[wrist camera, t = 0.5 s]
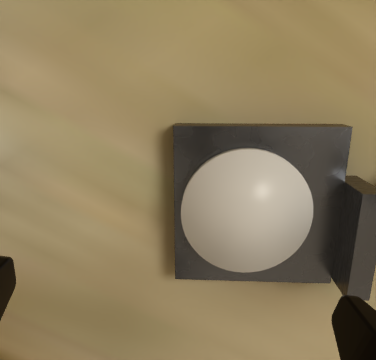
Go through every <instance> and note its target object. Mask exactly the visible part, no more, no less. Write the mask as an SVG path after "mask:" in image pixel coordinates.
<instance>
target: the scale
mask: <svg viewBox="0 0 376 360" xmlns="http://www.w3.org/2000/svg"><path fill="white" fill-rule="evenodd" d="M173 133H174V211H175V279H193V280H229V281H264V282H300V283H330V282H331V278H332V279H333V281H334V282H335V284H336V285H337V287H338V288H339V290H340V291H341V293H342V294H343V295H352V296H358V297H360V298H361V299H362V300H369V298H370V293H371V287H372V282H373V276H374V271H375V265H376V187H375V186H373V185H371V184H369V183H368V182H366V181H364V180H363V179H361V178H359V177H357V176H346V169H347V162H348V155H349V148H350V141H351V134H352V127H351V126H347V125H343V124H201V123H175V125H174V126H173ZM237 148H258V149H263V150H267V151H270V152H273V153H275V154H277V155H279V156H281V157H282V158H284V159H285V160H287V161H288V162H289V163H290V164H291V165H293V166H294V167H295V168H296V169H297V170H298V171H299V172H300V174H301V175H302V176H303V177H304V179H305V181H306V183H307V184H308V187H309V189H310V191H311V195H312V199H313V219H312V224H311V227H310V230H309V233H308V235H307V237H306V239H305V240H304V242H303V243H302V245H301V246H300V247H299V248H298V250H297V251H296V252H295V253H294V254H293V255H291V256H290V257H289V258H288V259H286V260H285V261H283V262H282V263H280V264H278V265H276V266H274V267H271V268H269V269H266V270H262V271H257V272H245V273H242V272H233V271H228V270H225V269H222V268H219V267H217V266H215V265H212V264H211V263H209V262H208V261H206V260H205V259H203V258H202V257H201V256H200V255H199V254H198V253H197V252H196V251H195V250H194V249H193V247H192V246H191V245H190V243H189V241H188V240H187V238H186V236H185V233H184V230H183V226H182V222H181V205H182V200H183V195H184V191H185V189H186V186H187V184H188V182H189V180H190V178H191V177H192V176H193V174H194V173H195V172H196V170H197V169H198V168H199V167H200V166H201V165H202V164H204V163H205V162H206V161H207V160H209V159H210V158H212V157H214V156H216V155H218V154H220V153H222V152H225V151H228V150H232V149H237Z"/></svg>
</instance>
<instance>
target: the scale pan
mask: <svg viewBox="0 0 376 360" xmlns="http://www.w3.org/2000/svg"><path fill="white" fill-rule="evenodd" d="M312 219H313V199H312V195H311V191H310V189H309V187H308V184H307V183H306V181H305V179H304V177H303V176H302V175H301V174H300V172H299V171H298V170H297V169H296V168H295V167H294V166H293V165H291V164H290V163H289V162H288V161H287V160H285V159H284V158H282V157H281V156H279V155H277V154H275V153H273V152H270V151H267V150H263V149H258V148H237V149H232V150H228V151H225V152H222V153H220V154H218V155H216V156H214V157H212V158H210V159H209V160H207V161H206V162H205V163H204V164H202V165H201V166H200V167H199V168H198V169H197V170H196V172H195V173H194V174H193V176H192V177H191V178H190V180H189V182H188V184H187V186H186V189H185V191H184V195H183V200H182V205H181V222H182V226H183V230H184V233H185V236H186V238H187V240H188V241H189V243H190V245H191V246H192V247H193V249H194V250H195V251H196V252H197V253H198V254H199V255H200V256H201V257H202V258H203V259H205V260H206V261H208V262H209V263H211V264H212V265H215V266H217V267H219V268H222V269H225V270H228V271H233V272H242V273H245V272H257V271H262V270H266V269H269V268H271V267H274V266H276V265H278V264H280V263H282V262H283V261H285V260H286V259H288V258H289V257H290V256H291V255H293V254H294V253H295V252H296V251H297V250H298V248H299V247H300V246H301V245H302V243H303V242H304V240H305V239H306V237H307V235H308V233H309V230H310V227H311V224H312Z"/></svg>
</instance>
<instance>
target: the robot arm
mask: <svg viewBox="0 0 376 360" xmlns="http://www.w3.org/2000/svg"><path fill="white" fill-rule="evenodd" d="M15 285H16V276H15V269H14V262H13V259H12V258H10V257H5V256H0V320H1V318H2V316H3V313H4V311H5V309H6V307H7V304H8V302H9V300H10V298H11V295H12V293H13V291H14V289H15ZM332 326H333V330H334V334H335V338H336V342H337V347H338V351H339V355H340V359H341V360H376V310H375V309H373V308H372V307H371V306H370V305H368V304H367V303H366V302H365V301H364V300H362V299H361V298H360V297H358V296H352V295H343V296H342V297H341V298H340V300H339V302H338V304H337V306H336V308H335V310H334V312H333V314H332Z"/></svg>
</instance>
